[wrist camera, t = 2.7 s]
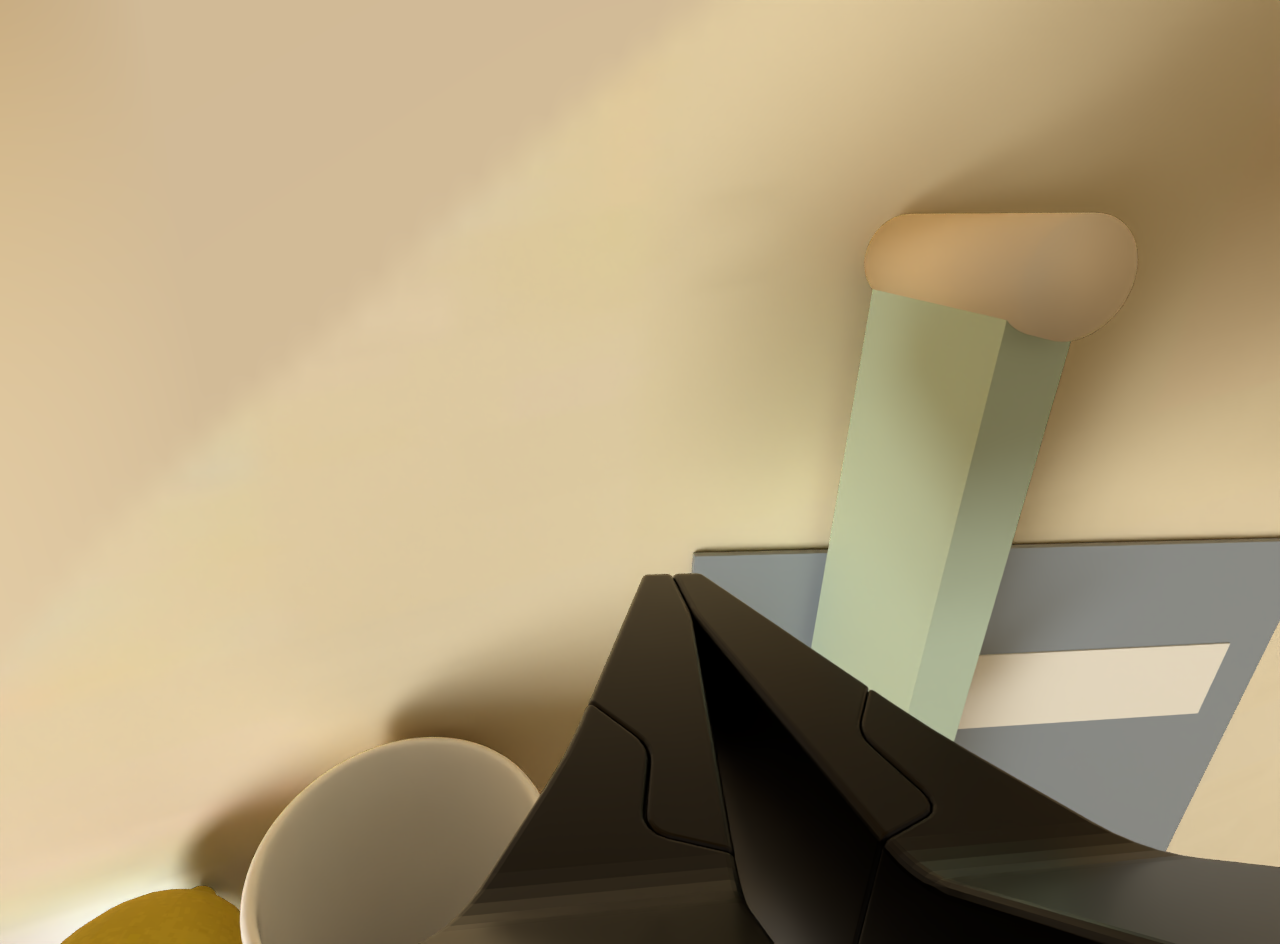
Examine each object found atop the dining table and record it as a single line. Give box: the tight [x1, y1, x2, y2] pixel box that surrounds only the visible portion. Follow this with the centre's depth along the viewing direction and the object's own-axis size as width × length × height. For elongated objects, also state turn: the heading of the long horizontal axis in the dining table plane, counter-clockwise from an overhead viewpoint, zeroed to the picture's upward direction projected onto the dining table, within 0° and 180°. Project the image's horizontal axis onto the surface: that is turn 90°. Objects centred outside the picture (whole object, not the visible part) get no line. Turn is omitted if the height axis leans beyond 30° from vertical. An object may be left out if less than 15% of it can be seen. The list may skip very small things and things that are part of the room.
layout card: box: [692, 538, 1280, 851], centre depth 21 cm, size 19×20×1 cm
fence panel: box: [811, 213, 1138, 741], centre depth 13 cm, size 12×2×5 cm, turn 178°
